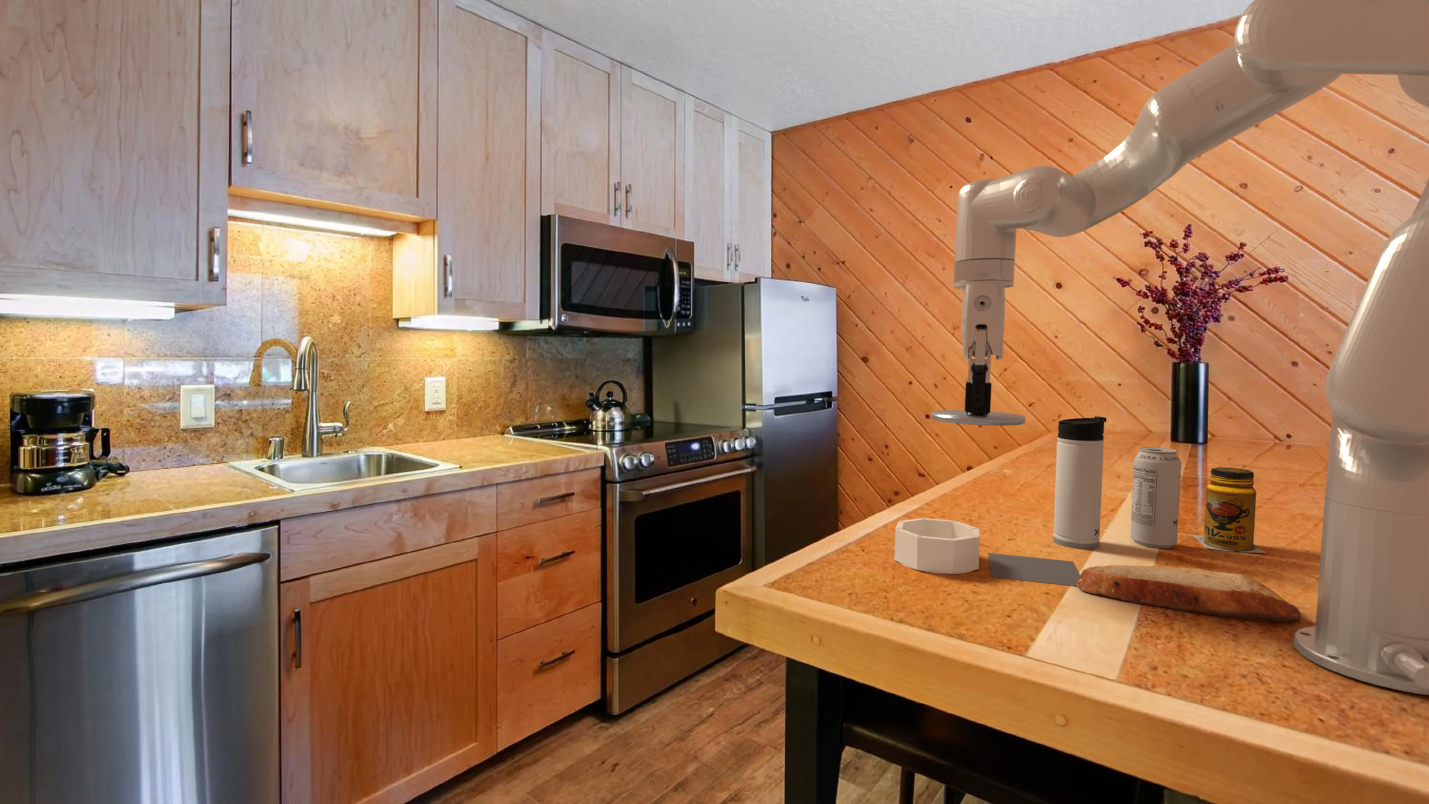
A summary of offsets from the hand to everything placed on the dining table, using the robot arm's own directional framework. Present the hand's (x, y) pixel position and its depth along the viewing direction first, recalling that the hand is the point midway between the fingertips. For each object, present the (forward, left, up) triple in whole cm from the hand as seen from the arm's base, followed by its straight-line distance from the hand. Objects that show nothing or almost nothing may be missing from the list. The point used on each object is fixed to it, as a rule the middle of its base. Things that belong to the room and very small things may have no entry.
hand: (977, 410), depth 91 cm
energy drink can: (+20, -26, -22) cm, 40 cm away
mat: (0, -8, -22) cm, 23 cm away
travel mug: (+16, -15, -22) cm, 31 cm away
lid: (0, 0, -1) cm, 1 cm away
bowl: (-1, +5, -22) cm, 22 cm away
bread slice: (-6, -23, -22) cm, 32 cm away
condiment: (+25, -37, -22) cm, 50 cm away
